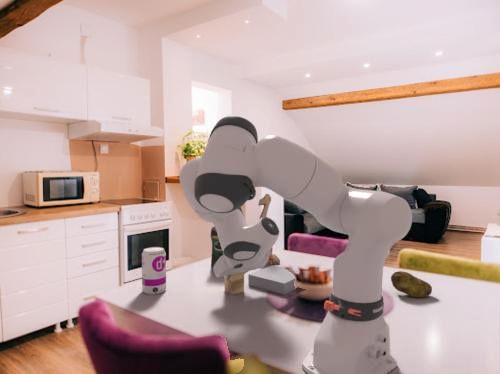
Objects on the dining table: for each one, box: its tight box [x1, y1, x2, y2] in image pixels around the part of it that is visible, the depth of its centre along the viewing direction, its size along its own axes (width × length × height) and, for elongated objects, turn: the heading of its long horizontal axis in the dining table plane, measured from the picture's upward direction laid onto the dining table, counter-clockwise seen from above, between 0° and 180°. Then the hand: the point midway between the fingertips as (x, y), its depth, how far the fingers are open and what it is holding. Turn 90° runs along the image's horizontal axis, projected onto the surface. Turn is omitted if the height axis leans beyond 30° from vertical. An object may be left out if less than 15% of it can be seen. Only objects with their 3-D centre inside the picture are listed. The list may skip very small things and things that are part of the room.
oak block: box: [224, 272, 245, 295], centre depth 125 cm, size 5×5×10 cm
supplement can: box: [141, 246, 167, 296], centre depth 125 cm, size 8×8×15 cm
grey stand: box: [248, 264, 300, 296], centre depth 133 cm, size 16×16×4 cm
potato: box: [390, 270, 433, 298], centre depth 121 cm, size 8×13×8 cm, turn 63°
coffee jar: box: [209, 225, 223, 270], centre depth 152 cm, size 10×8×19 cm
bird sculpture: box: [258, 193, 281, 266], centre depth 162 cm, size 11×12×32 cm
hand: (233, 275), depth 125 cm, fingers closed on oak block, 5 cm apart
